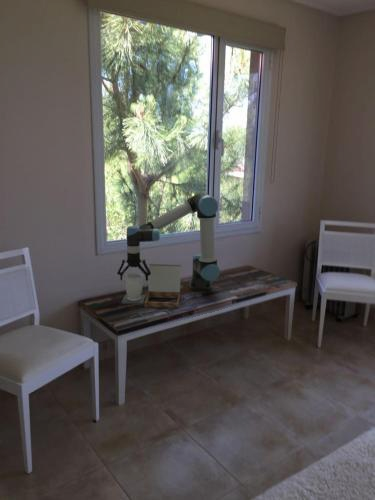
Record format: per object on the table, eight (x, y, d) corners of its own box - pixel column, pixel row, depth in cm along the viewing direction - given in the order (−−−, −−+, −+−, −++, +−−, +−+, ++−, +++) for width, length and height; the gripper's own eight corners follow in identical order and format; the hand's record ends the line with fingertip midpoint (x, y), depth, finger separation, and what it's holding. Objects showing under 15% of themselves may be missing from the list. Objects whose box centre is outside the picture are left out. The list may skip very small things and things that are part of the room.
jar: (139, 302, 250) (139, 279, 247) (123, 301, 252) (122, 277, 248) (144, 296, 260) (144, 273, 257) (129, 294, 262) (128, 272, 259)
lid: (179, 292, 262) (179, 292, 263) (180, 265, 262) (180, 265, 263) (148, 291, 263) (148, 290, 264) (149, 263, 263) (149, 263, 264)
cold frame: (179, 297, 263) (179, 293, 262) (178, 308, 247) (178, 303, 246) (148, 296, 264) (148, 291, 263) (144, 306, 247) (144, 302, 247)
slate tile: (145, 296, 263) (145, 295, 263) (142, 304, 250) (142, 303, 250) (125, 296, 263) (125, 294, 263) (121, 303, 251) (121, 302, 250)
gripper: (155, 250, 252) (155, 283, 258) (114, 249, 253) (115, 282, 258) (153, 254, 245) (154, 287, 250) (111, 253, 246) (112, 287, 251)
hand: (134, 285), depth 254 cm, fingers open, 13 cm apart
